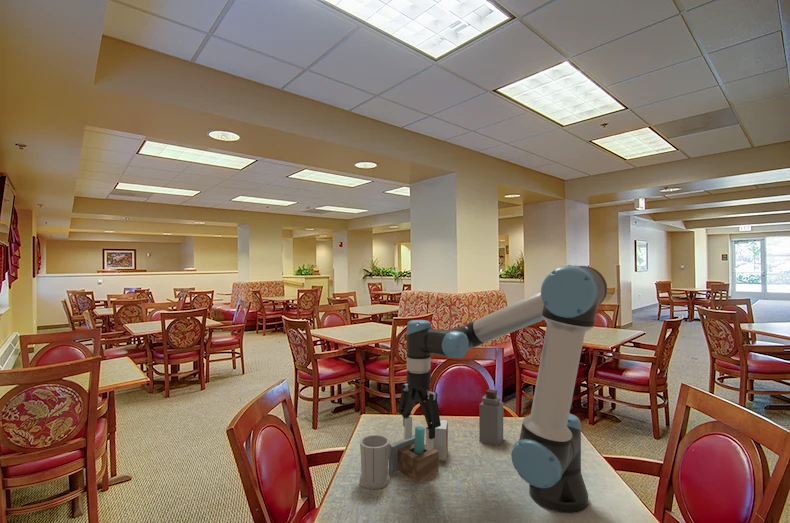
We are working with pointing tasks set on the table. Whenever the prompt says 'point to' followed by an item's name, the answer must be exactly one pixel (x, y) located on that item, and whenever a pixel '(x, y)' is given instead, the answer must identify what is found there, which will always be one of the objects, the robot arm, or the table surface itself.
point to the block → (418, 463)
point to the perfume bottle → (491, 418)
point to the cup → (374, 461)
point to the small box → (441, 440)
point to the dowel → (419, 440)
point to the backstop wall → (394, 452)
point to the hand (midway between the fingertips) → (418, 443)
